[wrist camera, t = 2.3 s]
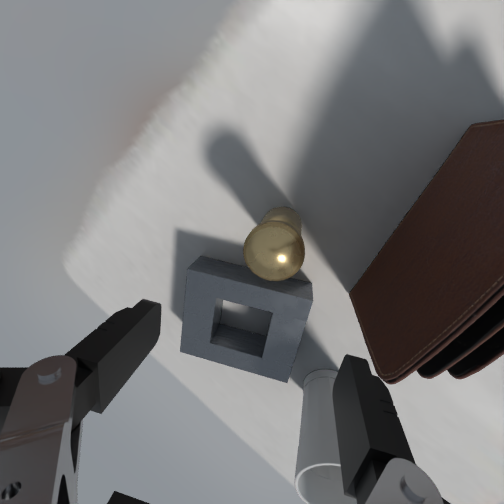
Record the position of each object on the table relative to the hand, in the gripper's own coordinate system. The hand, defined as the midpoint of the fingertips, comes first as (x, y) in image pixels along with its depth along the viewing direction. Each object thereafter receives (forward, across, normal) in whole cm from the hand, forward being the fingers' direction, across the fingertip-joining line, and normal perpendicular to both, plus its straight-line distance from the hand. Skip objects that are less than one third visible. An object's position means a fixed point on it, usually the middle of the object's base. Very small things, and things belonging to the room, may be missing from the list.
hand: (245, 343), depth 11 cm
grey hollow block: (+20, +2, +12) cm, 23 cm away
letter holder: (+20, -16, -2) cm, 26 cm away
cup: (+20, -11, +21) cm, 31 cm away
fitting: (+20, 0, 0) cm, 20 cm away
